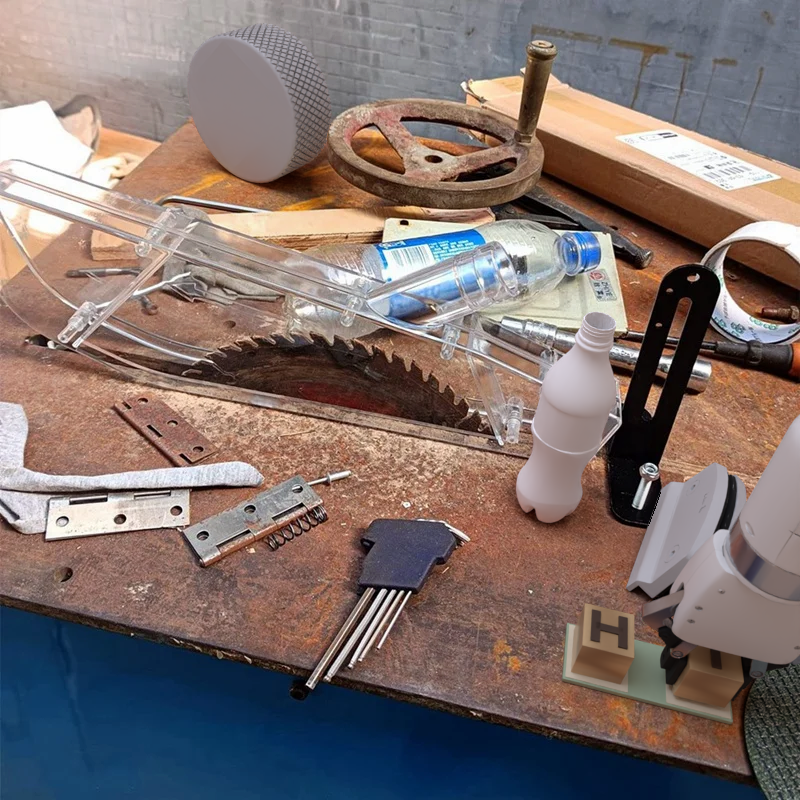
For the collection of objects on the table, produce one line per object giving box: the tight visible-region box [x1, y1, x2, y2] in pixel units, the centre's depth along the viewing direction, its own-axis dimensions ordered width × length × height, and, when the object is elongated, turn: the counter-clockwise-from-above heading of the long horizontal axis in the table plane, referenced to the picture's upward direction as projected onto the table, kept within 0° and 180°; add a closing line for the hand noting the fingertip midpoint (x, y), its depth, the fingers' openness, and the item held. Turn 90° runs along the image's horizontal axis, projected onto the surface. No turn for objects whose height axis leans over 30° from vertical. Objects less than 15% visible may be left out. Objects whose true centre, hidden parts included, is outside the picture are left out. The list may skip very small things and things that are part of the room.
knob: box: [186, 22, 333, 184], centre depth 135 cm, size 25×10×25 cm, turn 58°
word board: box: [561, 622, 734, 725], centre depth 70 cm, size 15×6×1 cm, turn 77°
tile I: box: [673, 645, 744, 708], centre depth 67 cm, size 4×4×5 cm
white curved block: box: [625, 462, 747, 599], centre depth 79 cm, size 17×5×10 cm, turn 152°
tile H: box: [571, 602, 635, 684], centre depth 69 cm, size 4×4×5 cm
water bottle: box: [515, 311, 617, 524], centre depth 77 cm, size 7×7×25 cm
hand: (698, 676), depth 68 cm, fingers closed on tile I, 4 cm apart
